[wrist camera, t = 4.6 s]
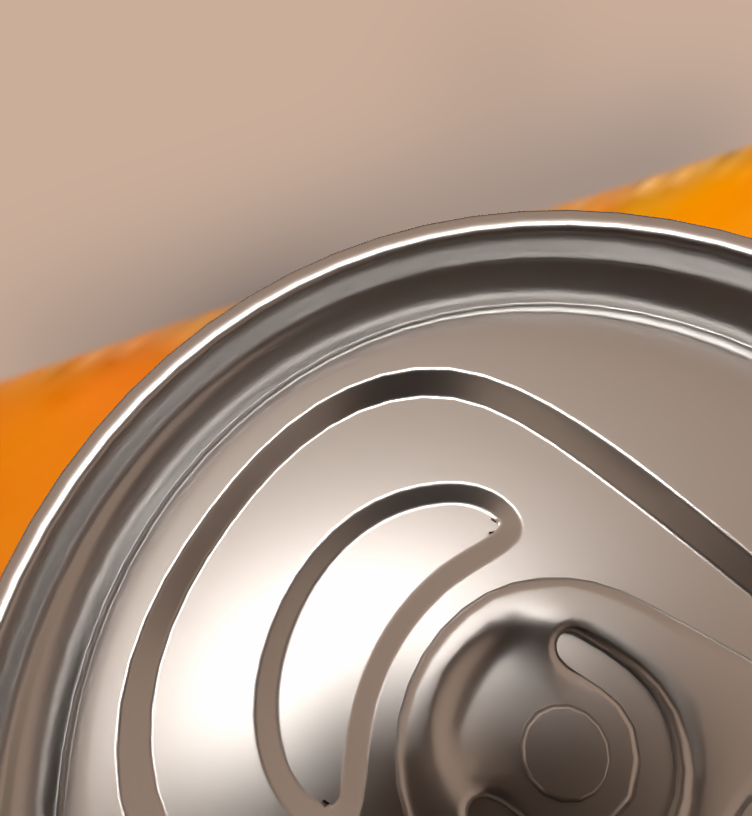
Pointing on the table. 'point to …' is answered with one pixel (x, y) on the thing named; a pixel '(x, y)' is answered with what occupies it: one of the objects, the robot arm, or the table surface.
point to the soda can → (410, 544)
